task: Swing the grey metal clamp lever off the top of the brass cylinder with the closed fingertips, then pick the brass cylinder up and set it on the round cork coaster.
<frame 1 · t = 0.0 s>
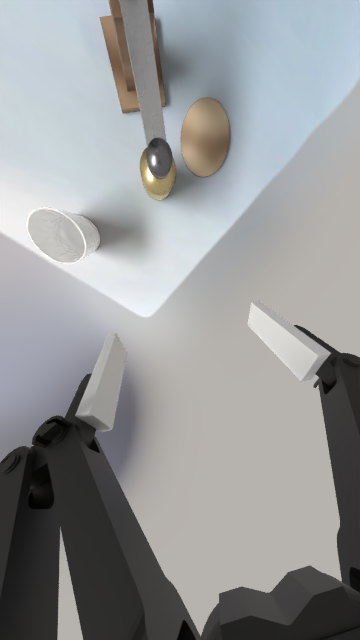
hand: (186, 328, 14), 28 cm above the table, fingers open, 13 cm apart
coaster: (204, 142, 25), on the table
brass cylinder: (157, 182, 27), on the table
white cup: (83, 234, 30), on the table
lever: (145, 71, 14), point 12 cm above the table, hinge at 0.0°
post: (136, 69, 20), on the table
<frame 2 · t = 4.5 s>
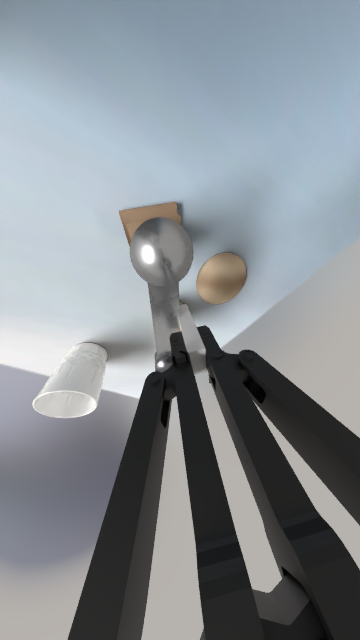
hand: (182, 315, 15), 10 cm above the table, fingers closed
coaster: (220, 280, 25), on the table
white cup: (90, 353, 29), on the table
lever: (165, 320, 13), point 12 cm above the table, hinge at 8.4°, touching gripper
post: (154, 239, 19), on the table
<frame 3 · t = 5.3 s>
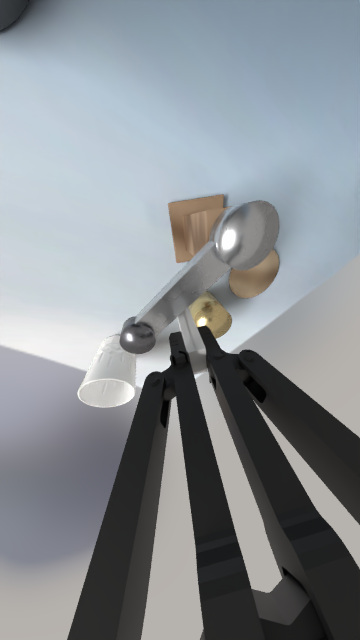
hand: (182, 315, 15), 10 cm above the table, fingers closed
coaster: (252, 274, 25), on the table
brass cylinder: (200, 304, 27), on the table
white cup: (119, 346, 29), on the table
lever: (184, 292, 12), point 12 cm above the table, hinge at 54.9°, touching gripper
post: (196, 231, 20), on the table
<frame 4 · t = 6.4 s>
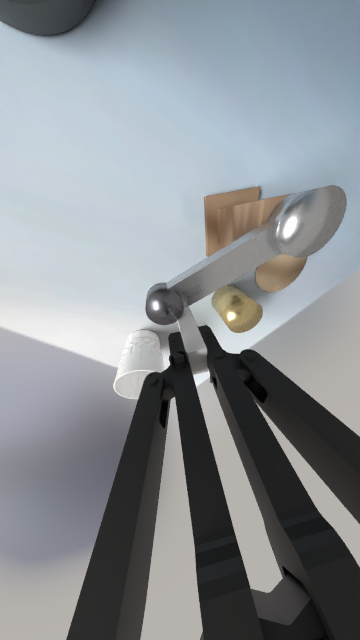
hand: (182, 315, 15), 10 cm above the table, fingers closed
coaster: (279, 267, 25), on the table
brass cylinder: (225, 298, 27), on the table
white cup: (143, 341, 30), on the table
lever: (228, 267, 11), point 12 cm above the table, hinge at 70.1°, touching gripper
post: (228, 225, 20), on the table
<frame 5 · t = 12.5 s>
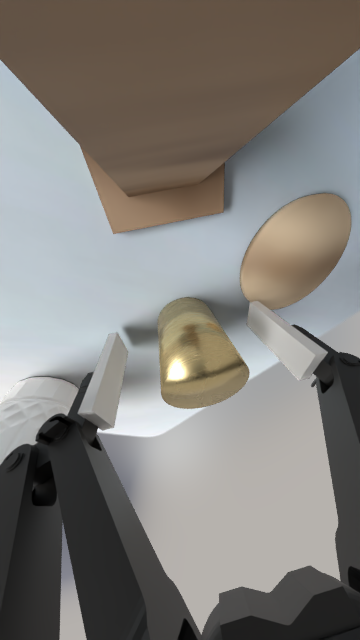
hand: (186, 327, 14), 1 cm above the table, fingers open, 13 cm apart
coaster: (288, 262, 12), on the table
brass cylinder: (184, 322, 14), on the table
white cup: (50, 390, 17), on the table
post: (154, 141, 7), on the table
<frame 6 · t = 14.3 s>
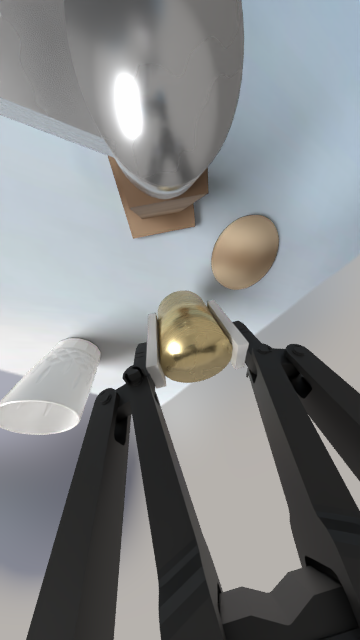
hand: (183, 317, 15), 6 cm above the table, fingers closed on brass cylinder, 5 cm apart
coaster: (243, 256, 19), on the table
brass cylinder: (181, 313, 16), point 5 cm above the table, touching gripper
white cup: (79, 351, 24), on the table
post: (156, 191, 14), on the table
when the fingers open (1 cm above the table, at t = 18.9 s): brass cylinder stays where it is, resting on coaster.
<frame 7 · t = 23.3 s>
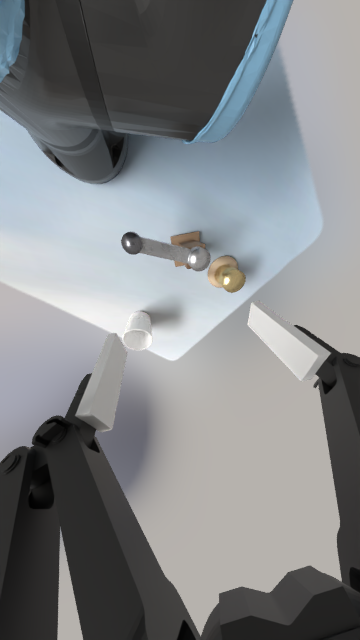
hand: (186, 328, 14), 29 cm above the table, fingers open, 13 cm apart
coaster: (222, 272, 41), on the table
brass cylinder: (223, 274, 41), point 1 cm above the table, touching coaster
white cup: (140, 319, 46), on the table
lever: (168, 251, 25), point 12 cm above the table, hinge at 112.6°
post: (186, 249, 36), on the table
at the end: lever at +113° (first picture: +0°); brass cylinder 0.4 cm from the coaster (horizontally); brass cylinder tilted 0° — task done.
